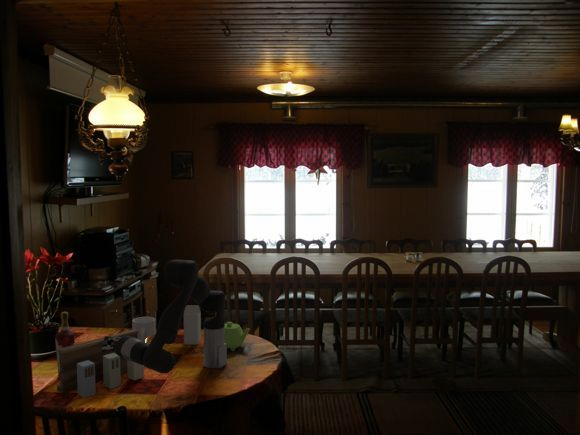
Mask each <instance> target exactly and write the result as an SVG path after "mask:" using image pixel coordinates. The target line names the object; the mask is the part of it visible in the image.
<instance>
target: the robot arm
mask: <svg viewBox="0 0 580 435" xmlns="http://www.w3.org/2000/svg"><path fill="white" fill-rule="evenodd" d="M163 274H164V279H165V281H166V282H167V283H168V285H170V286H172V287H175V288H176V289H179V290H180V291H179V293H178V295H177V296H176V297H175V298H174V300H172V302H170V303H169V304H168V306H167V307H166V308H164V310H163V311H162V313H161V315H160V317H159V320H158V323H157V328H156V329H155V335H154V337H153V339H152V341H151V342H150V344H147V343H145V342H143V341H141V340H139V339H136V338H134V336H119V337H111V336H109V335H106V336H103V337H104V342H103V344H102V351H103V352H105V351H106V350H108V349H110V350H111V351H115V352H116V354H117V355H118V356H120V357H122V358H124V359H127V360H129V361H132V362H135V363H138V364H140V365H144V368H145V367H146V368H147V369H149V370H152V371H154V372H156V373H159V374H168V373H170V372H171V371H172V370H174V368H175V365H176V357H175V355H174V354H173V353H172V352H171V351H168V350H165V349H164V346H165V344H166V345H172V344H174V343H175V342H176V341H177V340H176V339H177V337H178V334H179V330H180V327H181V322H182V318H183V317H184V311H185V308H186V306H187V305H188V303H189V300H192V301H194V302H195V303H196V304H197V305H198V306H199V308H200V310H202V311H203V312H210V313H215V315H213V316H212V317H209V318H206V319H204V321H203V366H204V368H207V369H221V368H222V367H224V366H226V365H227V364H228V360H227V359H228V348H227V343H225V323H226V322H225V321H226V293H225V292H224V291H223V290H211V286H210V283H209V282H208V281H207V280H206V279H205V278H204V277H203V276H201V275H199V265H198V263H197V261H195V260H188V259H187V260H186V259H172V260H169V261H168V262H167V263H166V265H165V266H164V270H163Z"/></svg>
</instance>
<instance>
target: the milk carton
mask: <svg viewBox="0 0 580 435" xmlns="http://www.w3.org/2000/svg"><path fill="white" fill-rule="evenodd" d="M201 316H202V314H201V308H200V307H199V306H198V304H197V305H196V304H195V305H194V304H193V305H192V304H191V305H188V304H187V306H186V308H185V310H184V313H183V345H199V344H200V342H201V340H202V328H201V327H202V322H201V321H202V318H201Z"/></svg>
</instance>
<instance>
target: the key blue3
mask: <svg viewBox="0 0 580 435" xmlns="http://www.w3.org/2000/svg"><path fill="white" fill-rule="evenodd" d="M77 388H78V390H77V395H78V396H80V397H82V398H83V399H86V398H89V397H91V396H94V395H96V392H97V391H96V384H95V363H93V362H91V361H89V360H87V361H84V362H80V363H77Z"/></svg>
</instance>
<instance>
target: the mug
mask: <svg viewBox="0 0 580 435" xmlns="http://www.w3.org/2000/svg"><path fill="white" fill-rule="evenodd" d="M131 323H132V325H131V326H132V328H131V330H134V329H135V330H137V331H138V332H139V333H137V336H138V339H139V340H141V341H143V342H145V339H146V338H147V337H148V336H150V335H155V334H156V330H157V328H156V318H155V317H153V316H140V317H135V318H134V319H132V322H131Z"/></svg>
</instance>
